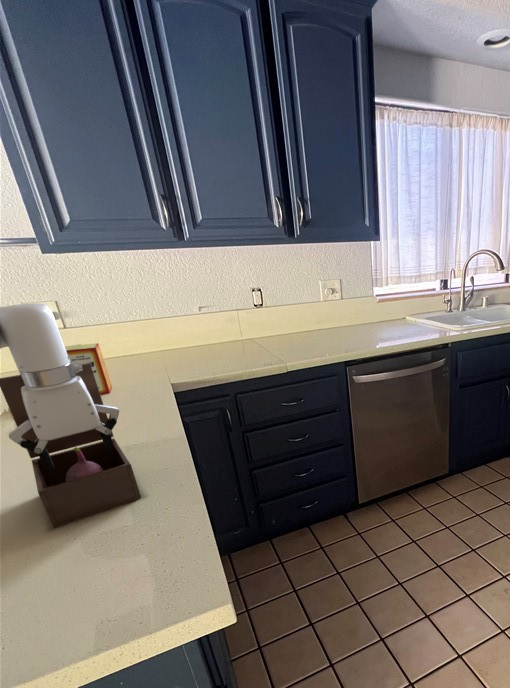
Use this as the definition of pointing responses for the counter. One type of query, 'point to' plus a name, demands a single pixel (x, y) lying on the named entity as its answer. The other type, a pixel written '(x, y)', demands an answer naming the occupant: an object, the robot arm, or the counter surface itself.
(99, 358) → the baking soda box
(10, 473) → the counter surface
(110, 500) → the chest
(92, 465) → the vegetable
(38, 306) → the robot arm
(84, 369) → the lid
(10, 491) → the counter surface
